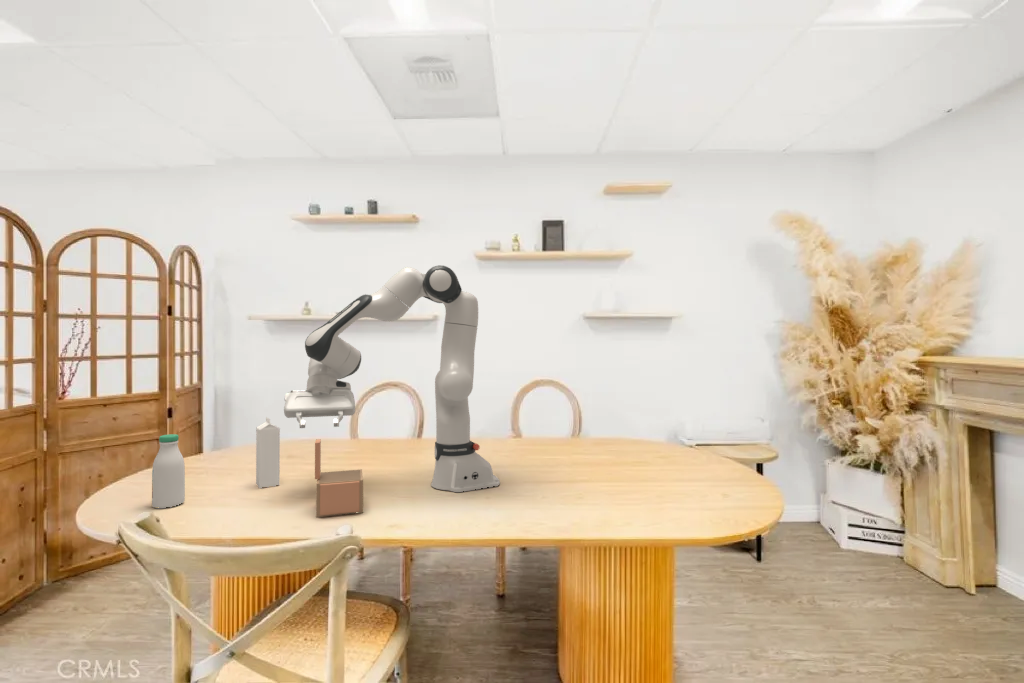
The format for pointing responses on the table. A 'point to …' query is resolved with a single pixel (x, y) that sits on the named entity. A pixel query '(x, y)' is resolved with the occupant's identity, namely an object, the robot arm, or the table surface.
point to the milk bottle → (168, 474)
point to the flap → (317, 458)
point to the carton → (339, 493)
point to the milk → (267, 454)
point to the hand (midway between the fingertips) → (319, 426)
